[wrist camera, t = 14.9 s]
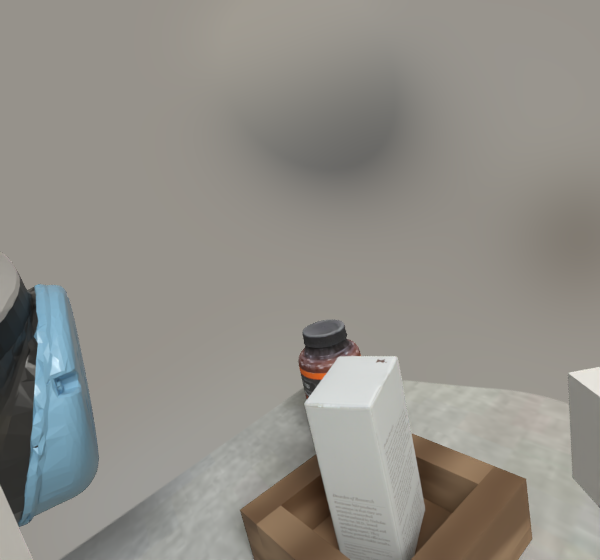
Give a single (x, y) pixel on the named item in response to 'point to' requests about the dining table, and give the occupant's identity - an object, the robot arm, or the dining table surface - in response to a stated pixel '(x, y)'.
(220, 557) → the dining table surface
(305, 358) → the supplement bottle
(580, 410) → the robot arm
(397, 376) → the skincare box
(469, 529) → the walnut tray
